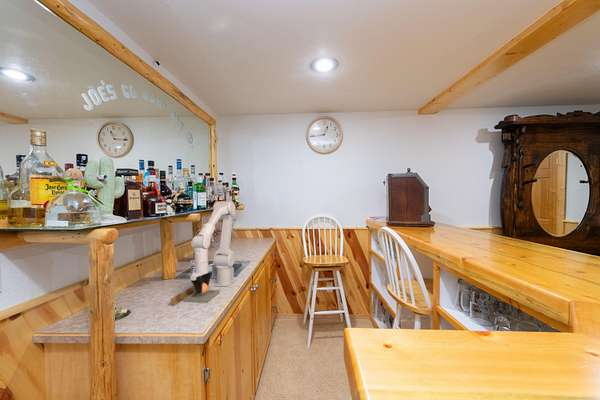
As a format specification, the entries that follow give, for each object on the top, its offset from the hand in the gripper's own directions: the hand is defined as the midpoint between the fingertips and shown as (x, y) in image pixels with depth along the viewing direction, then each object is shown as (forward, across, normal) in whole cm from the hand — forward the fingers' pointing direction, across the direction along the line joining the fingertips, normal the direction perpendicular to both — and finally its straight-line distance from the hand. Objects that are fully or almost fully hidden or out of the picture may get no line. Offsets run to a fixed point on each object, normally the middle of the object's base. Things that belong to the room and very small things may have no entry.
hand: (202, 290), depth 115 cm
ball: (-1, 0, 0) cm, 1 cm away
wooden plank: (+3, -1, -8) cm, 9 cm away
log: (+4, +21, -26) cm, 34 cm away
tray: (+3, 0, 0) cm, 3 cm away
